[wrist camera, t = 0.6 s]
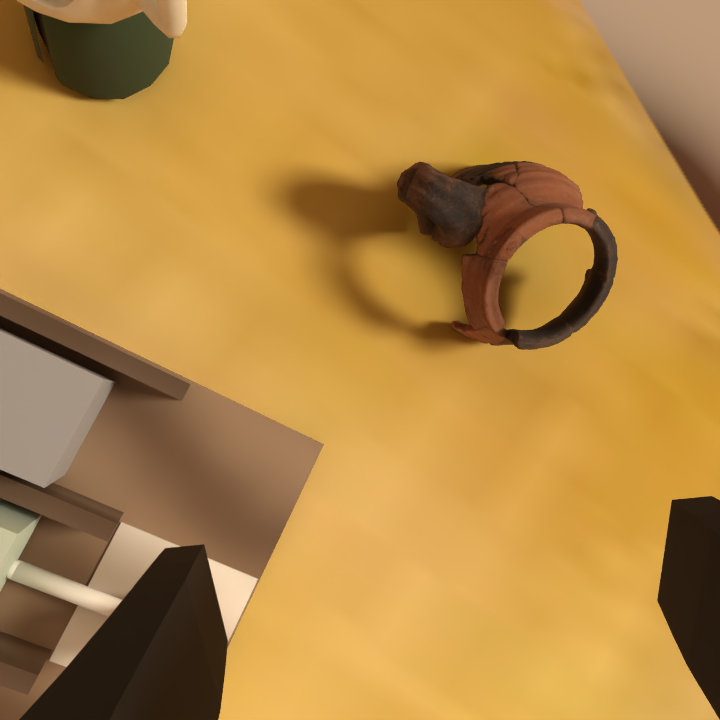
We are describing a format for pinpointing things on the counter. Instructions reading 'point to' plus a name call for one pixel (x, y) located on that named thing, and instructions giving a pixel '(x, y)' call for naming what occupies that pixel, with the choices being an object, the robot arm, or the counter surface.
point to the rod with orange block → (4, 546)
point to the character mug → (107, 41)
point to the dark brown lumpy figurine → (507, 238)
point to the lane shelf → (140, 499)
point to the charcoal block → (44, 409)
